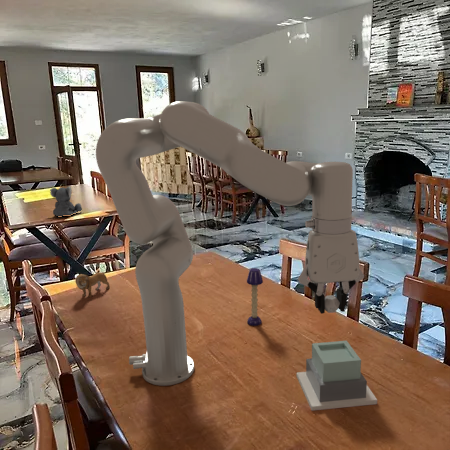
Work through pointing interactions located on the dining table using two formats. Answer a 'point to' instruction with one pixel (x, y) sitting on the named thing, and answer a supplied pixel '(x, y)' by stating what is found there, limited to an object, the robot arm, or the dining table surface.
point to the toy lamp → (254, 294)
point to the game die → (331, 304)
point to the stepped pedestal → (334, 378)
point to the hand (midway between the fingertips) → (330, 309)
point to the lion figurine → (91, 282)
